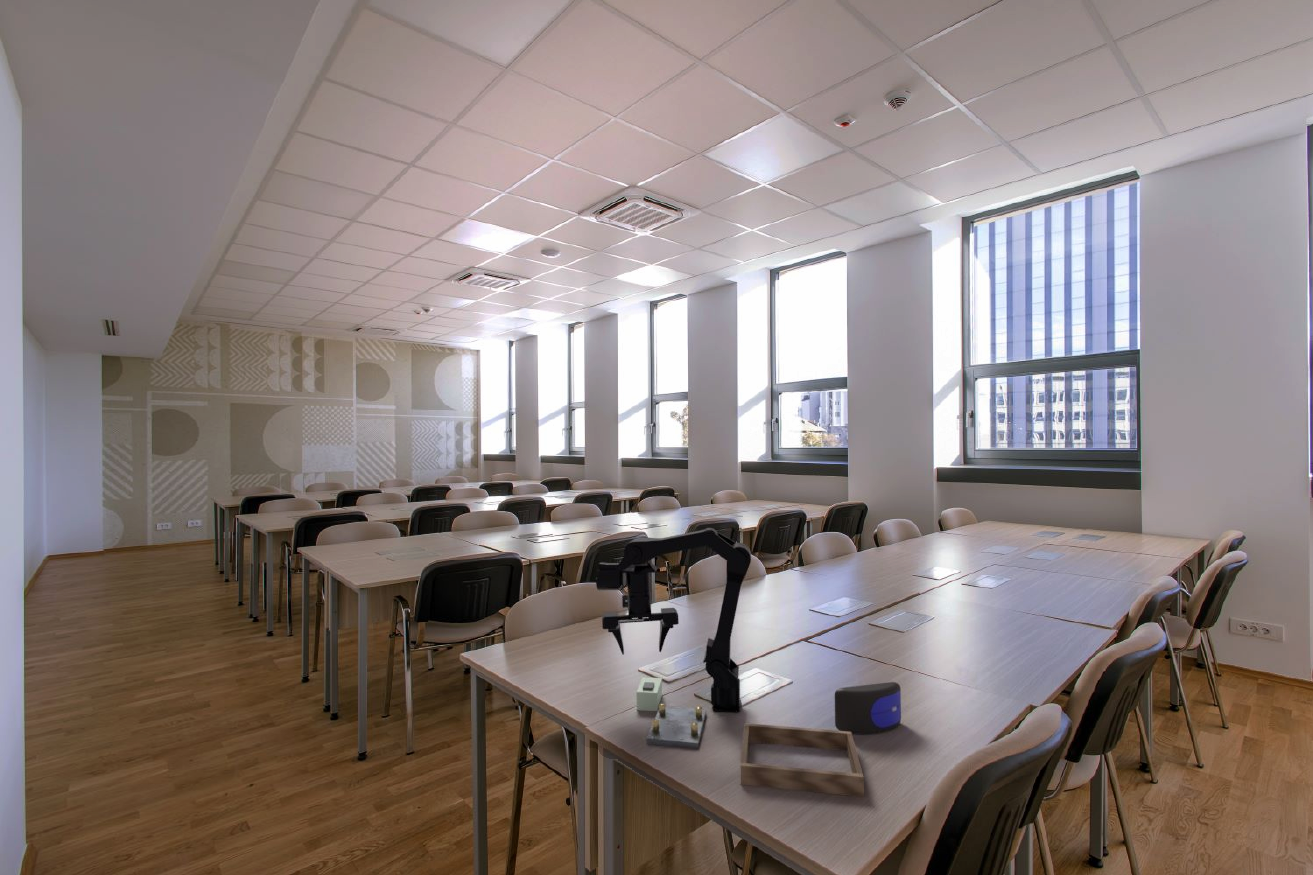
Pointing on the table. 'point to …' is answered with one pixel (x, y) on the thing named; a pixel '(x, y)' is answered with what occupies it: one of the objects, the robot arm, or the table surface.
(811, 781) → the storage tray
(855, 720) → the black and blue case
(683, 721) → the chassis
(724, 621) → the robot arm
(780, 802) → the table surface
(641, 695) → the pale green block
